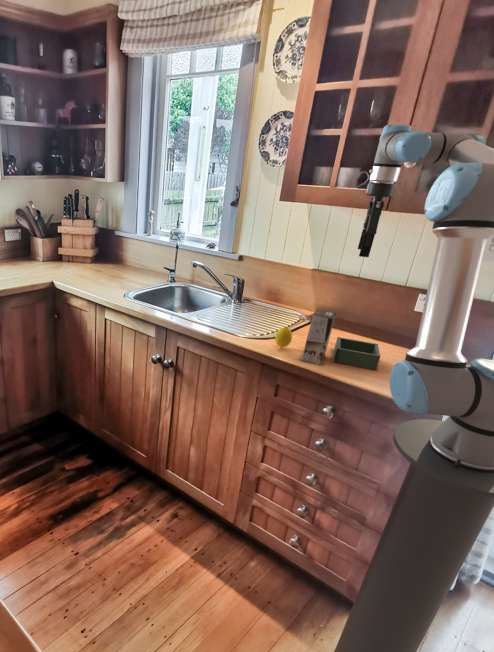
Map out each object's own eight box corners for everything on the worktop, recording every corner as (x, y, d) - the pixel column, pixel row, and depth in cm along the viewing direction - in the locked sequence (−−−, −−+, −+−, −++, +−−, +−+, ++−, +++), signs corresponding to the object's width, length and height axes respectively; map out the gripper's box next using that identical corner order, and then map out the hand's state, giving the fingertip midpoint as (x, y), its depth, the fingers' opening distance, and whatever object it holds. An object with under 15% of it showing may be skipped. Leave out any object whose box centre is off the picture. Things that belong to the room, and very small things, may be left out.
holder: (375, 370, 153) (380, 356, 150) (333, 362, 157) (337, 348, 155) (373, 357, 162) (377, 343, 160) (333, 349, 167) (337, 336, 165)
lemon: (273, 349, 164) (277, 328, 161) (273, 343, 169) (278, 323, 166) (289, 352, 163) (294, 330, 159) (289, 346, 168) (294, 325, 164)
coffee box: (320, 364, 154) (333, 319, 147) (300, 360, 157) (312, 314, 150) (325, 355, 161) (337, 311, 154) (306, 351, 164) (317, 307, 157)
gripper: (366, 179, 153) (349, 245, 162) (371, 183, 132) (350, 258, 141) (392, 181, 150) (373, 248, 159) (400, 185, 129) (378, 261, 139)
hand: (362, 253), depth 150 cm, fingers open, 13 cm apart
